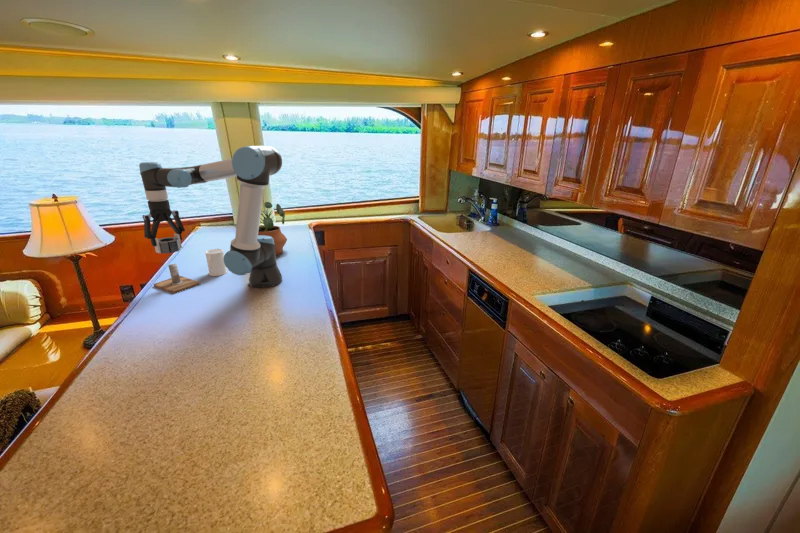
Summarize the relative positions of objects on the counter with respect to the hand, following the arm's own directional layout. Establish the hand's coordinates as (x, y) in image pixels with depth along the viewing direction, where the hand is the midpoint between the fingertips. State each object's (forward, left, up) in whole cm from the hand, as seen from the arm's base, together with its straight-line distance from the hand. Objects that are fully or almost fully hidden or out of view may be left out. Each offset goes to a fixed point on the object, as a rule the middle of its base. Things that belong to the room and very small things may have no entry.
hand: (169, 249), depth 151 cm
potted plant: (+3, -54, -18) cm, 57 cm away
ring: (0, 0, 0) cm, 0 cm away
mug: (-3, -18, -18) cm, 25 cm away
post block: (0, 0, -18) cm, 18 cm away
